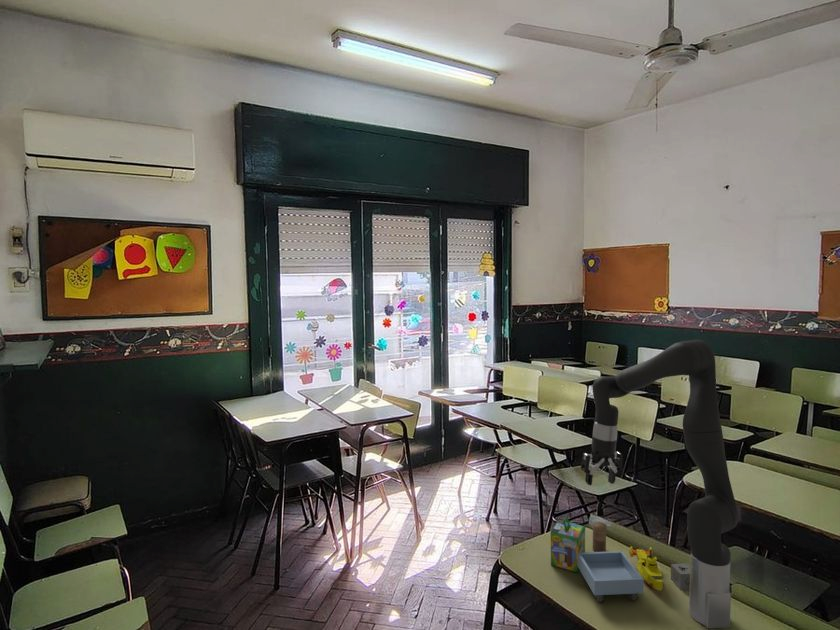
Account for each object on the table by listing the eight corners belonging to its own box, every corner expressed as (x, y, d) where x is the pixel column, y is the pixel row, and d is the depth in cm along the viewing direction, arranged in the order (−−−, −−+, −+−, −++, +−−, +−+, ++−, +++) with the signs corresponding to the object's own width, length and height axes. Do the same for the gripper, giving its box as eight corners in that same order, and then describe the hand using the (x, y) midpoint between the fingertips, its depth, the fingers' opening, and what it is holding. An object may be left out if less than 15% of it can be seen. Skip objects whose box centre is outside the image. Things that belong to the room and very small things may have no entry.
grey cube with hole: (670, 579, 151) (670, 564, 151) (686, 578, 152) (686, 563, 151) (680, 590, 146) (680, 574, 146) (696, 589, 147) (697, 573, 146)
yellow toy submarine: (649, 561, 160) (649, 532, 159) (671, 599, 143) (672, 566, 142) (628, 561, 161) (629, 531, 160) (648, 598, 143) (649, 565, 142)
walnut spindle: (607, 553, 165) (608, 527, 165) (595, 554, 165) (595, 528, 164) (602, 546, 170) (603, 521, 169) (590, 546, 170) (590, 521, 169)
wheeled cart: (643, 603, 141) (643, 579, 140) (594, 605, 140) (594, 581, 140) (621, 573, 155) (622, 550, 154) (577, 575, 154) (577, 552, 154)
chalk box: (578, 574, 155) (579, 528, 153) (549, 565, 160) (550, 521, 158) (586, 559, 163) (586, 515, 161) (558, 551, 168) (558, 509, 166)
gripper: (592, 440, 158) (588, 490, 160) (630, 439, 162) (625, 487, 164) (579, 433, 165) (574, 480, 167) (615, 431, 169) (611, 477, 171)
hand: (600, 483), depth 165 cm, fingers open, 8 cm apart
